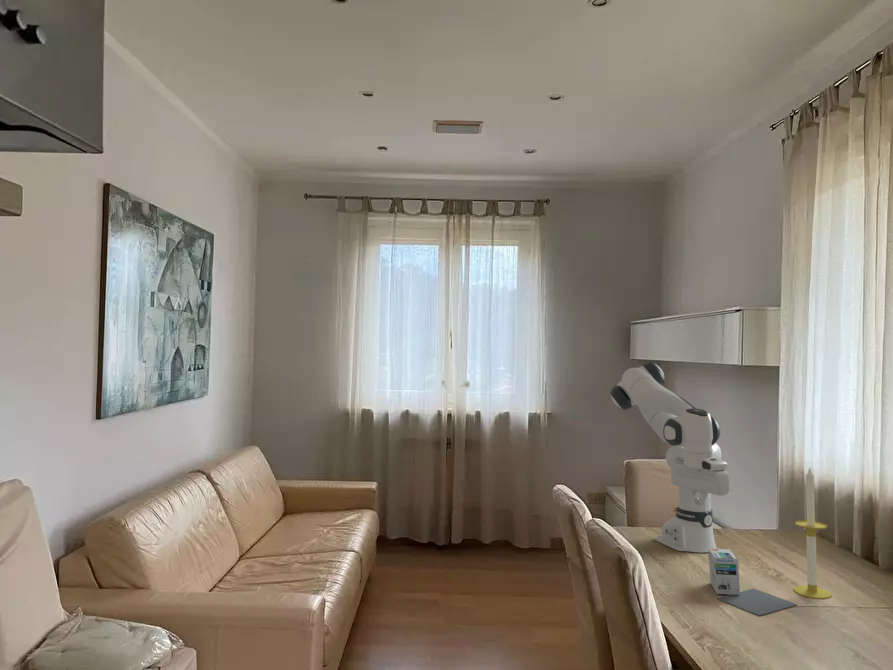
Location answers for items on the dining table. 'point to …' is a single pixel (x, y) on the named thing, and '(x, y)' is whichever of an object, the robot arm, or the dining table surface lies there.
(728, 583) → the light bulb box
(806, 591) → the candle
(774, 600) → the mat
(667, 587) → the dining table surface
